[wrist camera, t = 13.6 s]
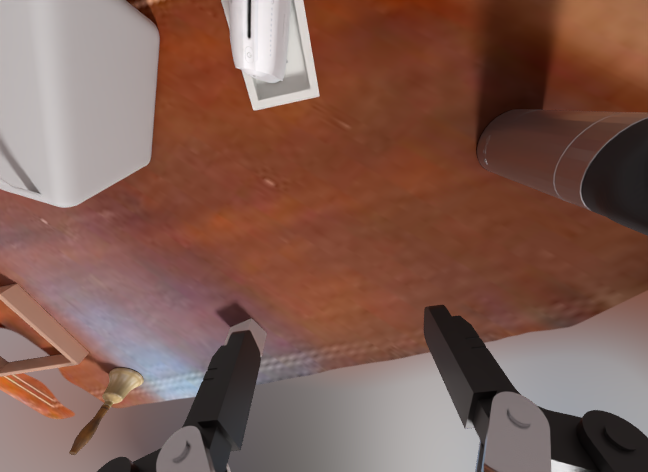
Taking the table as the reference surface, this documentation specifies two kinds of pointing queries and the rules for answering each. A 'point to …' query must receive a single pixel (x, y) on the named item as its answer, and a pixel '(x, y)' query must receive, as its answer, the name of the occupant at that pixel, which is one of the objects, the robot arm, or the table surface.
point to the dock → (287, 67)
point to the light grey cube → (255, 330)
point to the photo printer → (260, 37)
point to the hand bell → (109, 401)
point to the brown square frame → (46, 328)
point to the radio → (74, 96)
